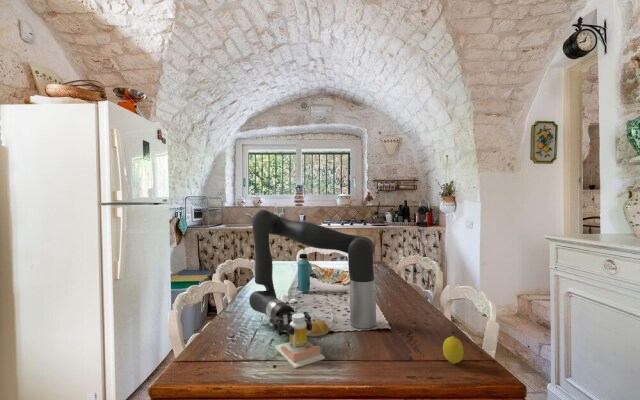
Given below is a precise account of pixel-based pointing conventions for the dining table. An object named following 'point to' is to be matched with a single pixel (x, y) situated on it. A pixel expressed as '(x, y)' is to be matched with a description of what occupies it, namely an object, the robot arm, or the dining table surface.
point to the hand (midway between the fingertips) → (302, 329)
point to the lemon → (453, 350)
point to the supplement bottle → (298, 332)
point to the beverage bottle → (303, 274)
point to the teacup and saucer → (286, 298)
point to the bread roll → (318, 329)
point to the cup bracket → (300, 354)
